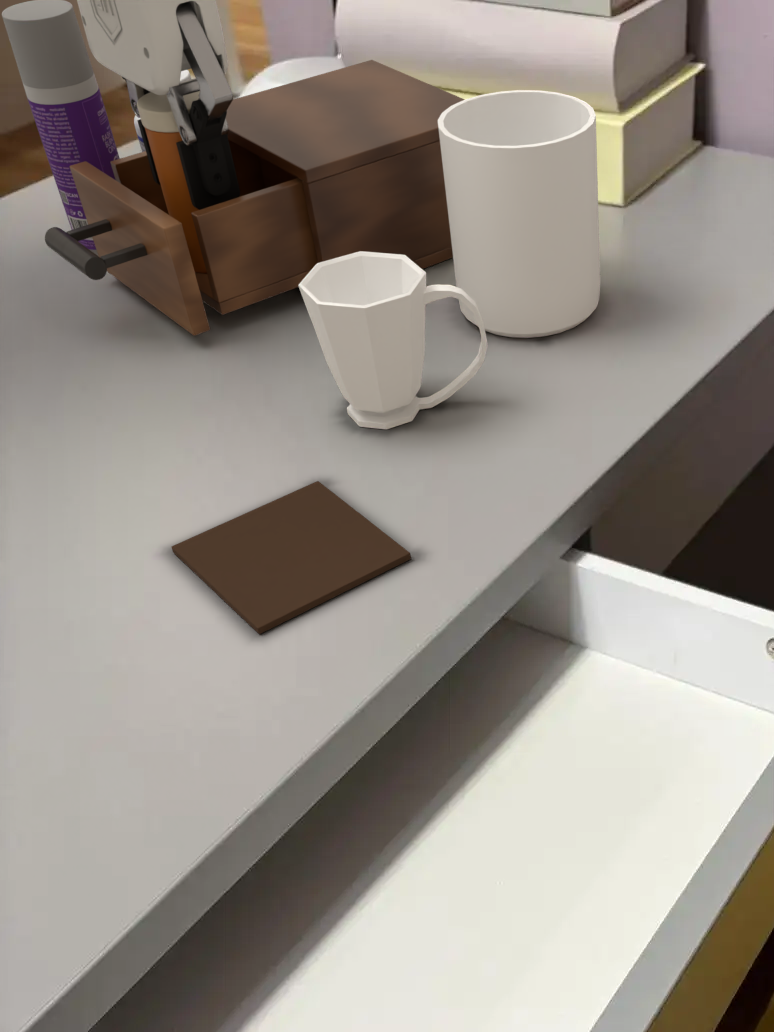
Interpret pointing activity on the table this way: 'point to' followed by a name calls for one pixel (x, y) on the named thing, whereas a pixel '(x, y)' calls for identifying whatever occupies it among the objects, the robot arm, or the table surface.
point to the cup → (379, 333)
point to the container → (61, 95)
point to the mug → (523, 209)
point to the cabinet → (358, 157)
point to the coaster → (290, 555)
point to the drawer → (220, 230)
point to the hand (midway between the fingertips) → (197, 188)
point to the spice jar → (171, 165)
